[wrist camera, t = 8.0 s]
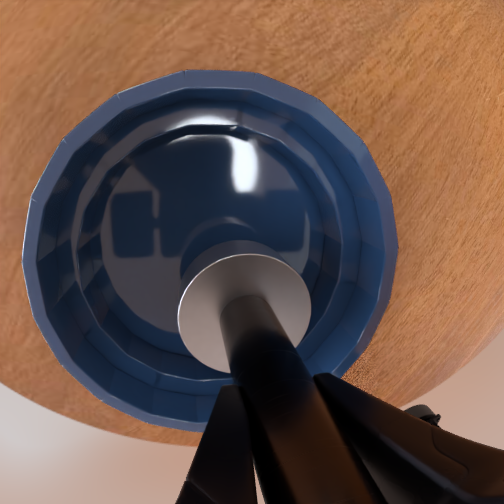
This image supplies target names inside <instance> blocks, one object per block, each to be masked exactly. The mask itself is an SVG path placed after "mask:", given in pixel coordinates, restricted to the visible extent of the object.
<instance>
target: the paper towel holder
mask: <svg viewBox="0 0 504 504" xmlns="http://www.w3.org/2000/svg"><path fill="white" fill-rule="evenodd" d="M310 316H311V301H310V296H309V292H308V289H307V287H306V284H305V283H304V281H303V279H302V278H301V277H300V275H299V274H298V273H297V272H296V271H295V270H294V269H293V268H292V267H291V266H290V265H289V264H288V263H287V262H286V261H285V259H284V258H283V257H282V256H280V255H279V254H278V253H277V252H276V251H274V250H273V249H271V248H270V247H268V246H266V245H264V244H261V243H258V242H254V241H248V240H234V241H227V242H223V243H220V244H217V245H215V246H213V247H211V248H209V249H207V250H205V251H204V252H203V253H201V254H200V255H199V256H198V257H197V258H195V259H194V260H193V262H192V263H191V264H190V265H189V267H188V268H187V270H186V271H185V273H184V275H183V278H182V280H181V283H180V287H179V294H178V328H179V332H180V335H181V338H182V340H183V342H184V344H185V346H186V347H187V349H188V350H189V352H190V353H191V354H192V355H193V356H194V357H195V358H196V359H198V360H199V361H200V362H201V363H203V364H205V365H206V366H208V367H210V368H213V369H215V370H218V371H222V372H226V373H231V377H232V381H233V384H236V385H238V387H239V389H240V392H241V395H242V398H243V401H244V404H245V407H246V410H247V413H248V417H249V425H250V435H251V445H252V455H253V463H254V466H255V470H256V474H257V477H258V480H259V484H260V488H261V491H262V495H263V498H264V501H265V504H388V502H387V500H386V499H385V497H384V495H383V494H382V492H381V490H380V489H379V487H378V486H377V484H376V482H375V481H374V479H373V477H372V476H371V474H370V472H369V471H368V469H367V467H366V466H365V464H364V463H363V461H362V459H361V458H360V456H359V454H358V453H357V451H356V449H355V448H354V446H353V444H352V443H351V441H350V439H349V438H348V436H347V434H346V433H345V431H344V429H343V428H342V426H341V424H340V423H339V421H338V419H337V418H336V416H335V414H334V413H333V411H332V409H331V408H330V406H329V404H328V403H327V401H326V399H325V398H324V396H323V394H322V393H321V391H320V389H319V388H318V386H317V384H316V382H315V381H314V379H313V377H312V376H311V374H310V372H309V371H308V369H307V367H306V366H305V364H304V362H303V360H302V359H301V357H300V355H299V354H298V352H297V350H296V349H295V348H296V347H297V346H298V344H299V343H300V342H301V340H302V338H303V337H304V335H305V333H306V330H307V328H308V325H309V322H310Z"/></svg>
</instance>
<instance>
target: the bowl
mask: <svg viewBox="0 0 504 504" xmlns="http://www.w3.org/2000/svg"><path fill="white" fill-rule="evenodd" d="M234 240H248V241H254V242H258V243H261V244H264V245H266V246H268V247H270V248H271V249H273V250H274V251H276V252H277V253H278V254H279V255H280V256H282V257H283V258H284V259H285V261H286V262H287V263H288V264H289V265H290V266H291V267H292V268H293V269H294V270H295V271H296V272H297V273H298V274H299V275H300V277H301V278H302V279H303V281H304V283H305V284H306V287H307V289H308V292H309V296H310V301H311V316H310V322H309V325H308V328H307V330H306V333H305V335H304V337H303V338H302V340H301V342H300V343H299V344H298V346H297V347H296V348H295V349H296V350H297V352H298V354H299V355H300V357H301V359H302V360H303V362H304V364H305V366H306V367H307V369H308V371H309V372H310V374H311V376H312V377H313V376H314V375H315V374H319V373H325V372H328V373H331V374H333V375H334V376H336V377H338V378H341V377H342V376H343V375H344V374H345V373H346V371H347V370H348V369H349V368H350V367H351V366H352V365H353V364H354V362H355V361H356V360H357V359H358V358H359V357H360V355H361V354H362V353H363V352H364V351H365V350H366V348H367V346H368V345H369V343H370V341H371V339H372V337H373V335H374V333H375V331H376V329H377V327H378V325H379V323H380V321H381V319H382V317H383V315H384V313H385V311H386V308H387V306H388V304H389V300H390V298H391V292H392V287H393V281H394V275H395V269H396V262H397V256H398V248H399V247H398V239H397V231H396V224H395V217H394V210H393V204H392V198H391V195H390V192H389V190H388V188H387V186H386V183H385V181H384V179H383V177H382V175H381V173H380V171H379V169H378V167H377V165H376V164H375V162H374V160H373V158H372V156H371V154H370V152H369V150H368V148H367V146H366V145H365V143H363V140H362V139H361V138H360V137H359V136H358V135H357V134H356V133H355V132H354V131H353V130H352V129H351V128H350V127H348V126H347V125H346V124H345V123H344V122H343V121H342V120H341V119H340V118H339V117H338V116H337V115H336V114H335V113H334V112H333V111H331V110H330V109H329V108H328V107H327V106H326V105H325V104H324V103H323V102H321V101H320V100H319V99H317V98H316V97H314V96H312V95H309V94H307V93H305V92H303V91H301V90H298V89H296V88H294V87H291V86H289V85H287V84H284V83H282V82H279V81H277V80H275V79H272V78H270V77H267V76H264V75H262V74H259V73H254V72H245V71H228V70H185V71H183V70H182V71H179V72H175V73H172V74H169V75H166V76H163V77H160V78H157V79H154V80H151V81H148V82H145V83H142V84H139V85H137V86H134V87H131V88H129V89H126V90H123V91H121V92H119V93H117V94H115V95H113V96H112V97H111V98H109V99H108V100H107V101H106V102H104V103H103V104H102V105H101V106H99V107H98V108H97V109H96V110H95V111H93V112H92V113H91V114H90V115H89V116H87V117H86V118H85V119H84V120H83V121H82V122H80V123H79V124H78V125H77V126H76V127H75V128H74V129H73V130H71V131H70V132H69V133H68V134H67V135H66V136H65V137H64V138H63V140H61V142H60V144H59V145H58V147H57V149H56V150H55V152H54V154H53V156H52V157H51V159H50V161H49V163H48V164H47V166H46V168H45V170H44V172H43V174H42V176H41V177H40V179H39V181H38V183H37V185H36V187H35V189H34V191H33V193H32V195H31V199H30V203H29V209H28V215H27V221H26V228H25V235H24V243H23V252H22V267H23V272H24V278H25V283H26V288H27V293H28V297H29V302H30V306H31V310H32V314H33V317H34V320H35V322H36V324H37V326H38V327H39V329H40V331H41V333H42V335H43V336H44V338H45V340H46V342H47V343H48V345H49V347H50V348H51V350H52V352H53V353H54V355H55V356H56V358H57V360H58V361H59V363H60V364H61V365H62V366H63V367H64V368H65V369H66V370H67V371H68V372H69V373H70V374H71V375H72V376H73V377H74V378H75V379H76V380H77V381H79V382H80V383H81V384H82V385H83V386H84V387H85V388H86V389H87V390H89V391H90V392H91V393H92V394H93V395H94V396H96V397H97V398H98V399H99V400H102V402H104V403H105V404H107V405H109V406H111V407H113V408H115V409H117V410H119V411H121V412H124V413H126V414H128V415H130V416H132V417H134V418H136V419H138V420H141V421H143V422H145V423H148V424H152V425H157V426H162V427H167V428H173V429H179V430H185V431H191V432H204V430H205V428H206V425H207V422H208V420H209V417H210V415H211V412H212V409H213V407H214V404H215V401H216V399H217V396H218V393H219V391H220V388H221V386H223V385H231V384H233V381H232V377H231V373H226V372H222V371H218V370H215V369H213V368H210V367H208V366H206V365H205V364H203V363H201V362H200V361H199V360H198V359H196V358H195V357H194V356H193V355H192V354H191V353H190V352H189V350H188V349H187V347H186V346H185V344H184V342H183V340H182V338H181V335H180V332H179V328H178V294H179V287H180V283H181V280H182V278H183V275H184V273H185V271H186V270H187V268H188V267H189V265H190V264H191V263H192V262H193V260H194V259H195V258H197V257H198V256H199V255H200V254H201V253H203V252H204V251H205V250H207V249H209V248H211V247H213V246H215V245H217V244H220V243H223V242H227V241H234Z"/></svg>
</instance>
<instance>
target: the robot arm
mask: <svg viewBox="0 0 504 504" xmlns="http://www.w3.org/2000/svg"><path fill="white" fill-rule="evenodd" d="M313 379H314V381H315V382H316V384H317V386H318V388H319V389H320V391H321V393H322V394H323V396H324V398H325V399H326V401H327V403H328V404H329V406H330V408H331V409H332V411H333V413H334V414H335V416H336V418H337V419H338V421H339V423H340V424H341V426H342V428H343V429H344V431H345V433H346V434H347V436H348V438H349V439H350V441H351V443H352V444H353V446H354V448H355V449H356V451H357V453H358V454H359V456H360V458H361V459H362V461H363V463H364V464H365V466H366V467H367V469H368V471H369V472H370V474H371V476H372V477H373V479H374V481H375V482H376V484H377V486H378V487H379V489H380V490H381V492H382V494H383V495H384V497H385V499H386V500H387V502H388V504H504V450H501V449H497V448H493V447H490V446H487V445H484V444H480V443H477V442H474V441H471V440H468V439H465V438H462V437H460V436H457V435H455V434H452V433H450V432H448V431H445V430H443V429H441V427H440V426H439V425H438V422H439V421H440V418H441V415H440V414H437V415H434V416H432V417H430V418H427V419H425V420H421V419H419V418H417V417H415V416H413V415H411V414H409V413H406V412H404V411H402V410H400V409H398V408H396V407H394V406H392V405H390V404H388V403H386V402H384V401H382V400H380V399H378V398H376V397H374V396H372V395H370V394H368V393H367V392H365V391H363V390H361V389H359V388H357V387H355V386H353V385H351V384H349V383H348V382H346V381H344V380H342V379H340V378H338V377H336V376H334V375H333V374H331V373H328V372H325V373H319V374H315V375H314V376H313ZM175 504H258V502H257V493H256V484H255V475H254V465H253V455H252V445H251V435H250V425H249V417H248V413H247V410H246V407H245V404H244V401H243V398H242V395H241V392H240V389H239V387H238V385H236V384H231V385H223V386H221V388H220V391H219V393H218V396H217V399H216V401H215V404H214V407H213V409H212V412H211V415H210V417H209V420H208V422H207V425H206V428H205V430H204V433H203V436H202V438H201V441H200V443H199V446H198V449H197V451H196V454H195V456H194V459H193V461H192V464H191V467H190V469H189V472H188V474H187V477H186V481H185V482H184V484H183V486H182V489H181V491H180V494H179V496H178V498H177V501H176V503H175Z"/></svg>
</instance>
